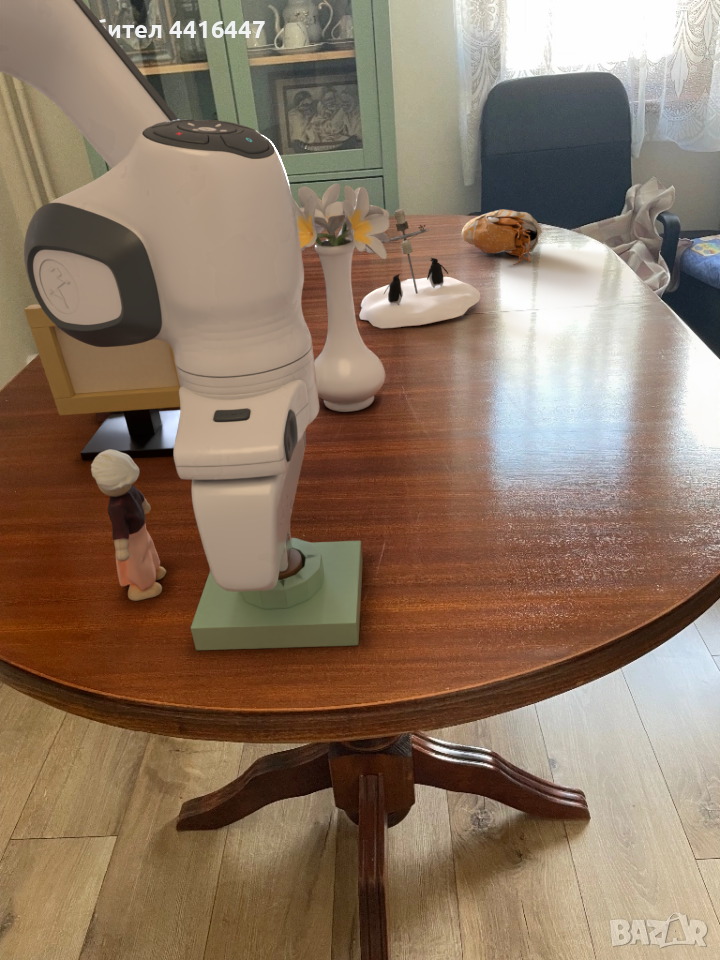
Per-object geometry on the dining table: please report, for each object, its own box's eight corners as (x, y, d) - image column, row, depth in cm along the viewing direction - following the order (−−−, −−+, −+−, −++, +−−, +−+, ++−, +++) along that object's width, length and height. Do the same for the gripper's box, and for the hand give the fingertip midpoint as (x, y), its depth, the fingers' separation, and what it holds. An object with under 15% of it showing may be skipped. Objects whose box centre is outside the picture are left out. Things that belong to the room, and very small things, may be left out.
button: (254, 594, 55) (250, 576, 54) (261, 565, 58) (258, 547, 57) (301, 592, 54) (298, 574, 53) (306, 563, 57) (303, 545, 56)
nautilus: (559, 268, 134) (479, 280, 134) (528, 235, 152) (457, 246, 152) (561, 224, 130) (477, 236, 130) (529, 196, 147) (456, 207, 147)
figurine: (452, 279, 127) (442, 182, 118) (500, 308, 112) (493, 200, 103) (344, 309, 124) (326, 211, 115) (379, 343, 109) (362, 234, 100)
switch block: (195, 650, 53) (185, 609, 51) (222, 567, 62) (214, 528, 60) (358, 645, 53) (354, 603, 50) (362, 561, 61) (359, 522, 59)
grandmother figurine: (124, 564, 63) (85, 435, 57) (169, 556, 64) (135, 427, 57) (119, 622, 57) (75, 483, 50) (169, 611, 57) (131, 473, 51)
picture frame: (59, 415, 80) (23, 309, 74) (64, 409, 81) (30, 304, 75) (201, 405, 79) (176, 296, 73) (204, 399, 80) (180, 292, 74)
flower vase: (404, 369, 97) (394, 167, 84) (393, 433, 81) (379, 196, 68) (308, 372, 98) (284, 174, 86) (279, 434, 83) (245, 204, 70)
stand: (82, 460, 81) (50, 359, 75) (111, 421, 89) (85, 327, 83) (187, 455, 80) (164, 352, 74) (207, 415, 89) (188, 320, 83)
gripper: (233, 340, 57) (259, 490, 64) (163, 471, 40) (210, 657, 47) (312, 335, 57) (329, 486, 64) (278, 465, 39) (307, 653, 46)
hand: (279, 560), depth 55 cm, fingers closed, pressing on button
